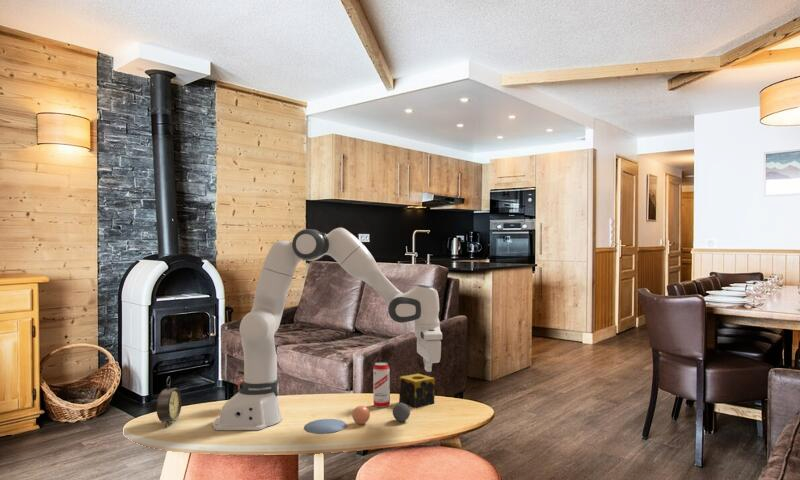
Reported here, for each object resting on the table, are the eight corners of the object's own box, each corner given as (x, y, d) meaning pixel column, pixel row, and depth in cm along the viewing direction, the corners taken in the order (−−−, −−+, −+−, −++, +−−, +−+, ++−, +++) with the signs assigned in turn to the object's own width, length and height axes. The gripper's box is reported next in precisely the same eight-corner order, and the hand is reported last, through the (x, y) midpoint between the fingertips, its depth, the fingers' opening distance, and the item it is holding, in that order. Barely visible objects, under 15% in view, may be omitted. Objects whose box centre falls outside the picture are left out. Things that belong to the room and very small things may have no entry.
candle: (398, 402, 193) (398, 376, 193) (418, 398, 199) (418, 373, 199) (414, 408, 185) (414, 381, 185) (435, 403, 191) (434, 377, 191)
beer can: (389, 408, 185) (389, 365, 186) (372, 408, 185) (372, 365, 186) (390, 403, 191) (389, 361, 192) (374, 403, 192) (373, 362, 192)
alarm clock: (169, 429, 164) (170, 380, 165) (153, 429, 164) (153, 380, 164) (182, 418, 175) (182, 372, 176) (166, 419, 175) (167, 372, 175)
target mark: (304, 435, 157) (304, 434, 157) (304, 421, 171) (304, 420, 171) (348, 431, 160) (348, 431, 160) (344, 418, 174) (344, 417, 174)
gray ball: (394, 424, 167) (394, 406, 167) (391, 418, 173) (391, 401, 173) (411, 423, 168) (411, 405, 168) (408, 417, 174) (408, 400, 174)
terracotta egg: (353, 427, 164) (353, 409, 165) (351, 421, 170) (351, 404, 170) (371, 426, 165) (370, 408, 166) (368, 420, 171) (368, 402, 172)
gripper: (412, 327, 183) (413, 365, 183) (425, 335, 163) (426, 378, 162) (428, 327, 184) (429, 364, 184) (443, 335, 164) (444, 376, 164)
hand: (428, 370), depth 173 cm, fingers closed
